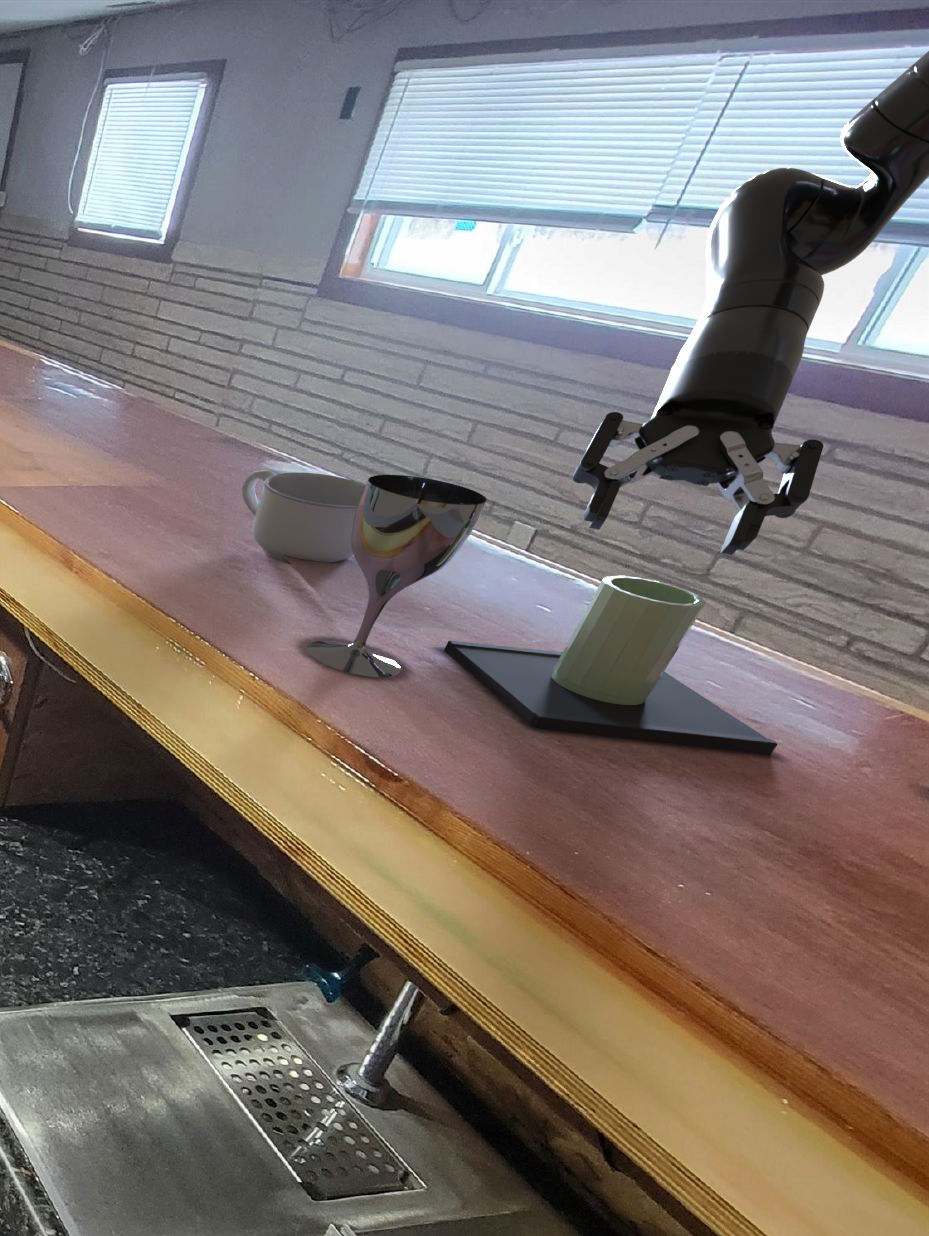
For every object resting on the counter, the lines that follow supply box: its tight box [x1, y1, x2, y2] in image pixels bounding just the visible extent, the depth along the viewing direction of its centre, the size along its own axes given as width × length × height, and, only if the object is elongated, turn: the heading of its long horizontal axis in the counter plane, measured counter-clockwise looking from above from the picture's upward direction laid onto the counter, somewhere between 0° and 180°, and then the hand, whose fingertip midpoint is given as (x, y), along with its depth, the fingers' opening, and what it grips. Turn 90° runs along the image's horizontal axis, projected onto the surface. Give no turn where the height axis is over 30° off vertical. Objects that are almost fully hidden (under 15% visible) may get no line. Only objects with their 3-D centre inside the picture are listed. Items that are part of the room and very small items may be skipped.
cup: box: [552, 575, 707, 705], centre depth 79 cm, size 6×6×8 cm
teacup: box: [241, 469, 366, 565], centre depth 108 cm, size 14×11×8 cm
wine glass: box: [306, 474, 488, 678], centre depth 83 cm, size 8×8×15 cm
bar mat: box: [443, 640, 778, 756], centre depth 82 cm, size 16×14×1 cm
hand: (662, 536), depth 84 cm, fingers open, 8 cm apart
